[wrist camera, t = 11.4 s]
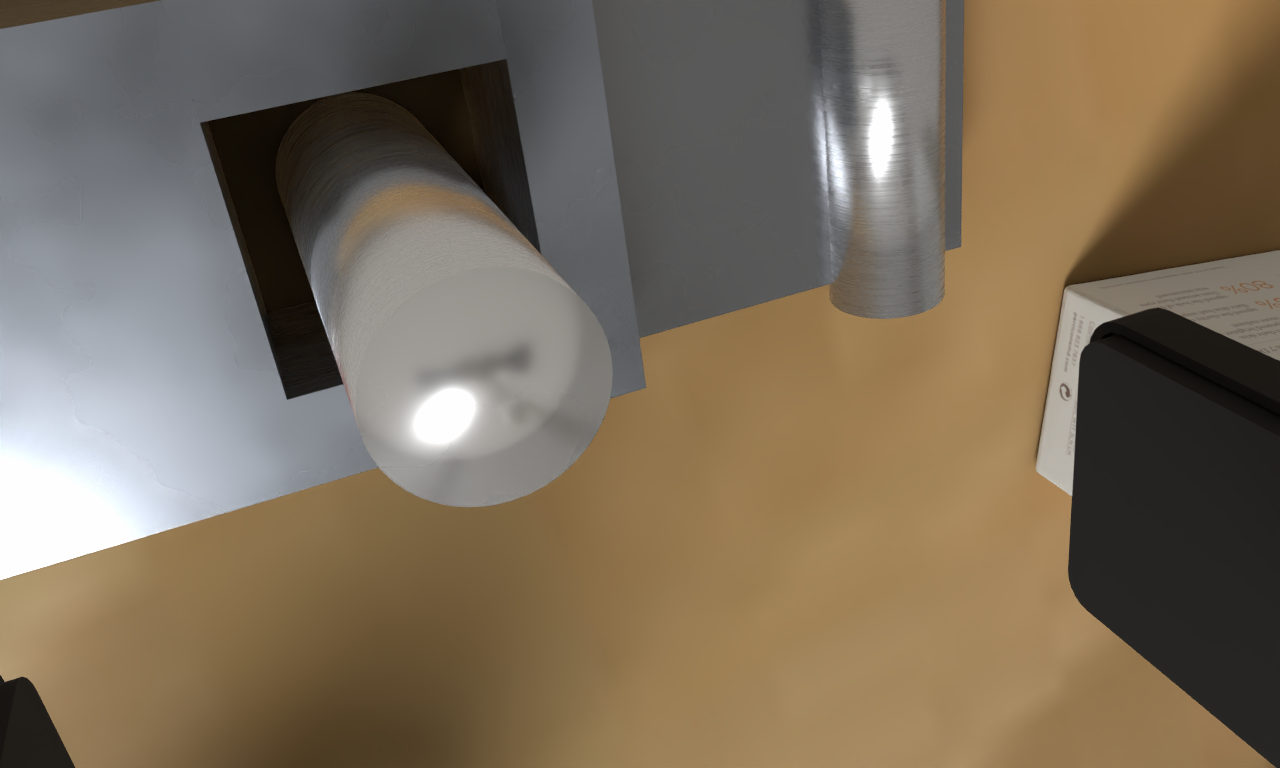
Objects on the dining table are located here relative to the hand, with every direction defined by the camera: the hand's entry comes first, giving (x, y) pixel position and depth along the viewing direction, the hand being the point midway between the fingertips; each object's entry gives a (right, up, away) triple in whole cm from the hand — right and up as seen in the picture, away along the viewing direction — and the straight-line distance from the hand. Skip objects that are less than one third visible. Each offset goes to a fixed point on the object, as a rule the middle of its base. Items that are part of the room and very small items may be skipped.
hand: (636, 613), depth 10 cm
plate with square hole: (-5, +6, +11) cm, 14 cm away
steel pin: (-5, +6, +12) cm, 14 cm away
